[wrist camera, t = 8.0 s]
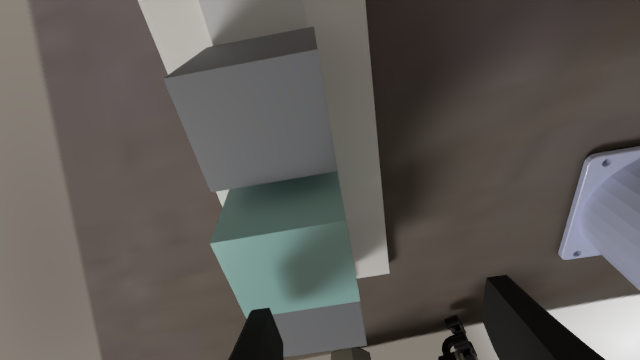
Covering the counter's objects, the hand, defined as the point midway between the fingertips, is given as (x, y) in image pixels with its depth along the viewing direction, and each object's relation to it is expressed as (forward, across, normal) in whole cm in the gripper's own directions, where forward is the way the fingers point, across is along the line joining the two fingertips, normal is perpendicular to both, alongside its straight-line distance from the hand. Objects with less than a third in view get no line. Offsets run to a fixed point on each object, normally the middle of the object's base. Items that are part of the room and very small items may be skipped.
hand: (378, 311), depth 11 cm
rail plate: (+9, +3, -1) cm, 9 cm away
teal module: (+8, +3, -1) cm, 8 cm away
